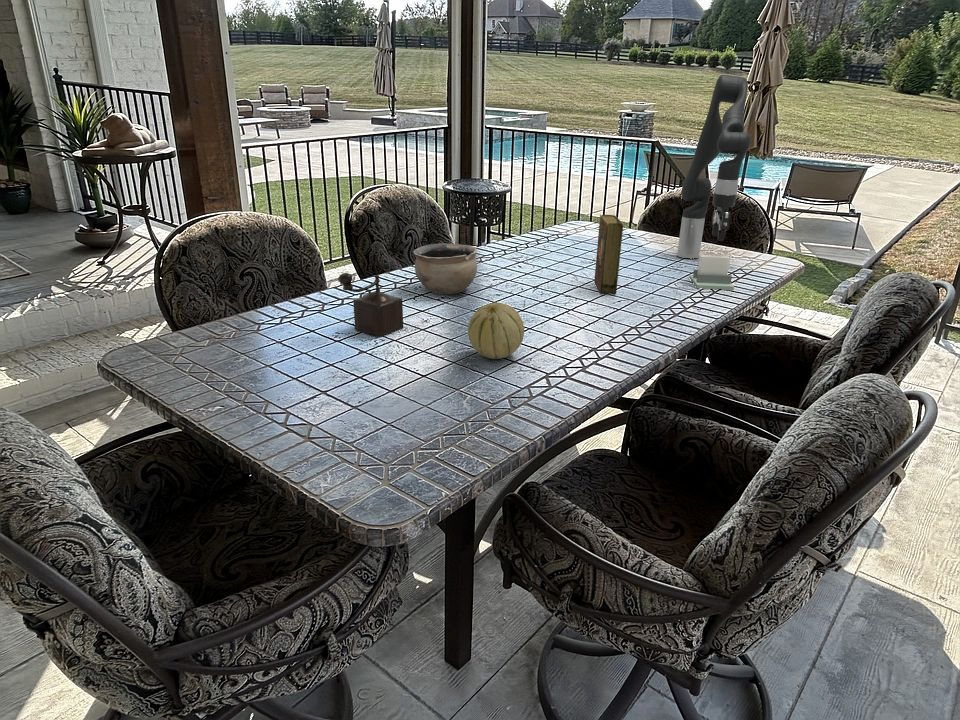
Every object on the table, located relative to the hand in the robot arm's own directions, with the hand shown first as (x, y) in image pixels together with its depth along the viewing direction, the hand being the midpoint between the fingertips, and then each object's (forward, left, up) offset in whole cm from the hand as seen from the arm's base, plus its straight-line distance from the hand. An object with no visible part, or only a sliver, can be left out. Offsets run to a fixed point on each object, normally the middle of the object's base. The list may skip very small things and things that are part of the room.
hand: (717, 238), depth 231 cm
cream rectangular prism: (0, 0, -16) cm, 16 cm away
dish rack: (0, 0, -17) cm, 17 cm away
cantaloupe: (+81, -74, -18) cm, 111 cm away
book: (+12, -40, -18) cm, 45 cm away
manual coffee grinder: (+67, -111, -18) cm, 131 cm away
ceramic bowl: (+24, -96, -18) cm, 100 cm away
